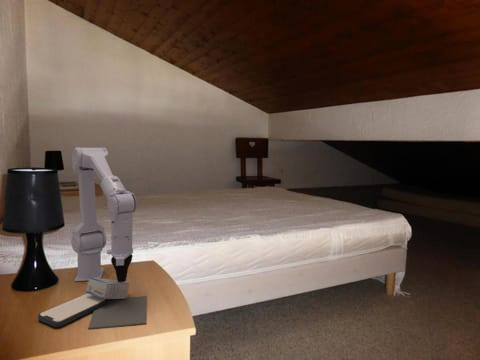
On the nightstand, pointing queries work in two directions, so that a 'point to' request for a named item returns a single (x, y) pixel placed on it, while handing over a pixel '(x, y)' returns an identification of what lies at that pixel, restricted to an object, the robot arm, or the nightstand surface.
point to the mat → (120, 313)
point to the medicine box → (107, 288)
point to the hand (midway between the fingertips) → (121, 280)
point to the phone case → (71, 310)
